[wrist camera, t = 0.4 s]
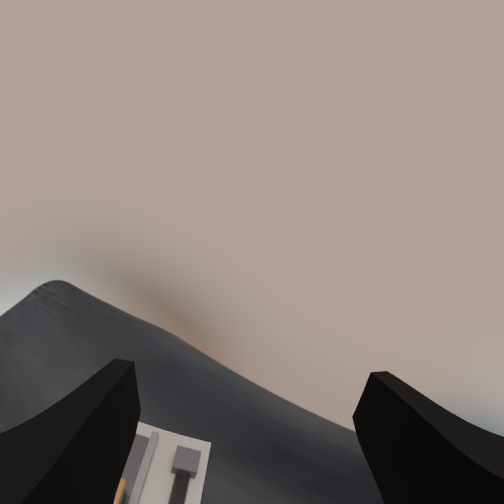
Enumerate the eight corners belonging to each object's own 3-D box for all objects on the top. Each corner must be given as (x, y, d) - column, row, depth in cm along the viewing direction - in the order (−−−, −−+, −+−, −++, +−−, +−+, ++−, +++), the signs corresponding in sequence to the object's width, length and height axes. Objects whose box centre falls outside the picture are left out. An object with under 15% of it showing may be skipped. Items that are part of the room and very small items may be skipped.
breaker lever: (121, 520, 12) (115, 510, 11) (81, 504, 12) (68, 489, 11) (129, 495, 15) (125, 479, 13) (91, 479, 15) (81, 461, 13)
